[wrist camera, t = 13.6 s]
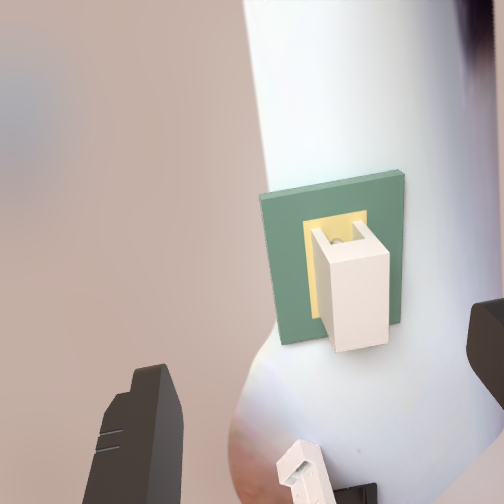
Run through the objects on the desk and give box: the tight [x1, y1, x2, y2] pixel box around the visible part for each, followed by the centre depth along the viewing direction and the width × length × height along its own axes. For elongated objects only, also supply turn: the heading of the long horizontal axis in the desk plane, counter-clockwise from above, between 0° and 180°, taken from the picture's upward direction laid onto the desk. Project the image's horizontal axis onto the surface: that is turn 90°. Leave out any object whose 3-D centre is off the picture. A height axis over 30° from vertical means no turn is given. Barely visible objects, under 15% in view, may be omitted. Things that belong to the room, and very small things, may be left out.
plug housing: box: [311, 220, 390, 353], centre depth 41 cm, size 10×5×7 cm, turn 8°
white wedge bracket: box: [276, 439, 336, 504], centre depth 56 cm, size 4×10×9 cm, turn 148°
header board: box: [259, 170, 405, 345], centre depth 43 cm, size 18×14×4 cm
